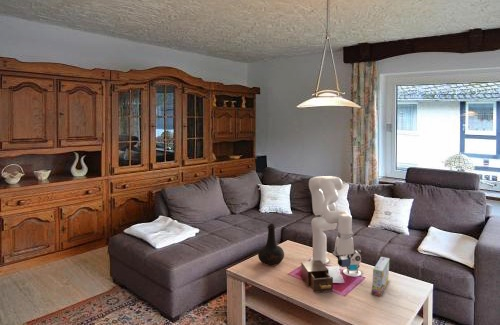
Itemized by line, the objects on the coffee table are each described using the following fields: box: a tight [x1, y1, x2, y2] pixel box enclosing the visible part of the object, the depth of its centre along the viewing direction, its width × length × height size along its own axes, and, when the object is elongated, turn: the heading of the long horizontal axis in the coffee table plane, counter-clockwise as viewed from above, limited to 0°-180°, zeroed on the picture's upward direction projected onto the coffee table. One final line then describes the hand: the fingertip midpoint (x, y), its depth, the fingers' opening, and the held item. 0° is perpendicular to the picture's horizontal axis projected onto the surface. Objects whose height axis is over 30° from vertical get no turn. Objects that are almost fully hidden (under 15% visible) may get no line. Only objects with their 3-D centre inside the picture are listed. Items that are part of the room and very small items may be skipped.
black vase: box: [257, 223, 285, 267], centre depth 241 cm, size 18×18×28 cm
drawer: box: [310, 272, 334, 293], centre depth 205 cm, size 18×11×8 cm, turn 8°
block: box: [340, 255, 350, 268], centre depth 204 cm, size 4×4×4 cm
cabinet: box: [300, 260, 330, 288], centre depth 216 cm, size 15×13×10 cm
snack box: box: [371, 256, 391, 297], centre depth 205 cm, size 21×6×15 cm, turn 148°
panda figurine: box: [342, 249, 363, 278], centre depth 225 cm, size 12×11×15 cm
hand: (344, 264), depth 204 cm, fingers closed on block, 4 cm apart
